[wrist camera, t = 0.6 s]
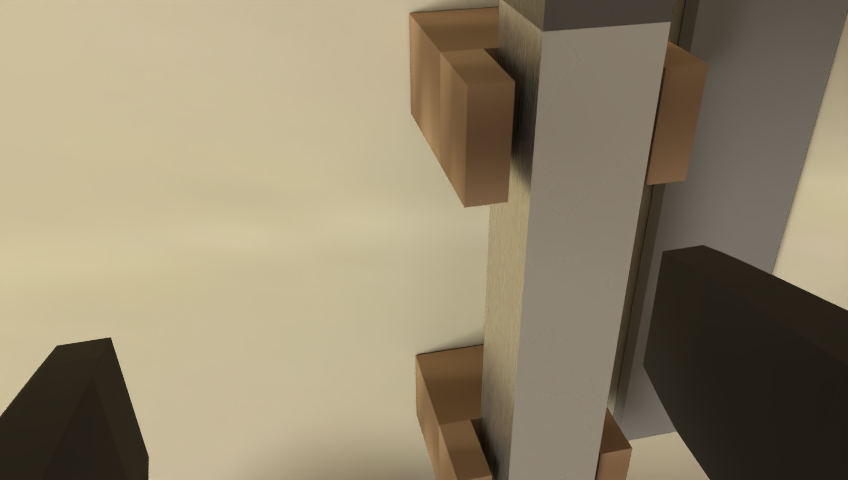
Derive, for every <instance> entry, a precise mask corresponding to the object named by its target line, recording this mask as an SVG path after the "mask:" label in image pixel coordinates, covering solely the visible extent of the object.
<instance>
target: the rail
mask: <svg viewBox="0 0 848 480" xmlns="http://www.w3.org/2000/svg"><path fill="white" fill-rule="evenodd" d="M673 6H674V0H499V19H498V41H497V63H498V64H499V65H500V67H501V68H502V69H503V70H504V71H505V72H506V73H507V74H508V75H509V76H510V77H511V78H512V79H513V80H514V81H515V94H514V110H513V127H512V144H511V161H510V178H509V195H508V202H505V203H497V204H490V220H489V243H488V265H487V288H486V310H485V332H484V355H483V377H482V399H481V422H480V446H481V448H482V451H483V454H484V456H485V459H486V461H487V464H488V466H489V469H490V472H491V474H492V480H595V474H596V468H597V462H598V456H599V450H600V444H601V438H602V432H603V426H604V420H605V414H606V408H607V402H608V396H609V390H610V384H611V378H612V372H613V366H614V360H615V354H616V348H617V342H618V336H619V330H620V324H621V318H622V312H623V306H624V300H625V294H626V288H627V282H628V276H629V270H630V264H631V258H632V252H633V246H634V240H635V234H636V228H637V222H638V216H639V210H640V204H641V198H642V192H643V186H644V180H645V174H646V168H647V162H648V156H649V150H650V144H651V138H652V132H653V126H654V120H655V114H656V108H657V102H658V96H659V90H660V84H661V78H662V72H663V66H664V60H665V54H666V48H667V42H668V36H669V30H670V24H671V18H672V12H673Z"/></svg>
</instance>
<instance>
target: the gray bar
mask: <svg viewBox="0 0 848 480" xmlns="http://www.w3.org/2000/svg"><path fill="white" fill-rule="evenodd" d="M847 12H848V0H686V4H685V10H684V15H683V21H682V27H681V32H680V38H679V44H678V46H679V47H680V48H682V49H684V50H685V51H687V52H689V53H691V54H692V55H694V56H696V57H697V58H699V59H701V60H703V61H704V62H706V63H708V64H709V66H708V71H707V76H706V81H705V86H704V91H703V96H702V101H701V106H700V111H699V116H698V121H697V126H696V131H695V136H694V141H693V146H692V151H691V156H690V161H689V166H688V171H687V176H686V180H685V181H677V182H669V183H661V184H654V187H653V192H652V198H651V204H650V210H649V215H648V221H647V227H646V232H645V238H644V244H643V250H642V255H641V261H640V267H639V272H638V278H637V284H636V290H635V295H634V301H633V307H632V312H631V318H630V324H629V330H628V335H627V341H626V347H625V352H624V358H623V364H622V370H621V375H620V381H619V387H618V392H617V398H616V404H615V410H614V415H613V418H614V419H615V421H616V423H617V424H618V426H619V428H620V429H621V431H622V432H623V434H624V436H625V437H626V439H627V441H628V440H634V439H639V438H644V437H649V436H655V435H660V434H665V433H670V432H676V431H677V430H676V429H675V427H674V426H673V424H672V422H671V420H670V418H669V416H668V414H667V413H666V411H665V409H664V407H663V405H662V403H661V401H660V399H659V397H658V395H657V393H656V391H655V389H654V387H653V385H652V383H651V381H650V379H649V377H648V375H647V373H646V371H645V369H644V367H643V362H644V356H645V350H646V344H647V339H648V333H649V327H650V321H651V316H652V310H653V304H654V298H655V292H656V287H657V281H658V275H659V269H660V263H661V258H662V252H663V251H668V250H674V249H680V248H687V247H693V246H700V245H705V246H707V247H710V248H713V249H715V250H718V251H720V252H723V253H725V254H727V255H730V256H732V257H734V258H737V259H739V260H741V261H743V262H746V263H748V264H750V265H752V266H754V267H756V268H759V269H761V270H763V271H765V272H767V273H769V274H772V271H773V267H774V264H775V260H776V257H777V253H778V250H779V247H780V243H781V240H782V236H783V233H784V229H785V226H786V222H787V219H788V216H789V212H790V209H791V205H792V202H793V198H794V195H795V191H796V188H797V184H798V181H799V178H800V174H801V171H802V167H803V164H804V160H805V157H806V153H807V150H808V147H809V143H810V140H811V136H812V133H813V129H814V126H815V122H816V119H817V116H818V112H819V109H820V105H821V102H822V98H823V95H824V91H825V88H826V85H827V81H828V78H829V74H830V71H831V67H832V64H833V60H834V57H835V53H836V50H837V47H838V43H839V40H840V36H841V33H842V29H843V26H844V22H845V19H846V16H847Z"/></svg>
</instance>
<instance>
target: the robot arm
mask: <svg viewBox="0 0 848 480" xmlns="http://www.w3.org/2000/svg"><path fill="white" fill-rule="evenodd" d="M643 367H644V369H645V371H646V373H647V375H648V377H649V379H650V381H651V383H652V385H653V387H654V389H655V391H656V393H657V395H658V397H659V399H660V401H661V403H662V405H663V407H664V409H665V411H666V413H667V414H668V416H669V418H670V420H671V422H672V424H673V426H674V427H675V429H676V430H677V432H678V433H679V435H680V436H681V438H682V439H683V441H684V442H685V444H686V445H687V447H688V448H689V450H690V451H691V453H692V454H693V456H694V457H695V459H696V460H697V461H698V463H699V464H700V466H701V467H702V469H703V470H704V472H705V473H706V475H707V476H708V477H709V479H710V480H848V311H847V310H845V309H843V308H841V307H839V306H837V305H835V304H832V303H830V302H828V301H826V300H824V299H822V298H820V297H818V296H816V295H813V294H811V293H809V292H807V291H805V290H803V289H801V288H799V287H797V286H795V285H792V284H790V283H788V282H786V281H784V280H782V279H780V278H778V277H776V276H774V275H771V274H769V273H767V272H765V271H763V270H761V269H759V268H756V267H754V266H752V265H750V264H748V263H746V262H743V261H741V260H739V259H737V258H734V257H732V256H730V255H727V254H725V253H723V252H720V251H718V250H715V249H713V248H710V247H707V246H705V245H700V246H693V247H687V248H680V249H674V250H668V251H663V252H662V258H661V263H660V269H659V275H658V281H657V287H656V292H655V298H654V304H653V310H652V316H651V321H650V327H649V333H648V339H647V344H646V350H645V356H644V362H643ZM148 466H149V457H148V453H147V450H146V447H145V444H144V441H143V438H142V435H141V431H140V428H139V425H138V422H137V419H136V416H135V412H134V409H133V406H132V403H131V400H130V397H129V394H128V390H127V387H126V384H125V381H124V378H123V375H122V371H121V368H120V365H119V362H118V359H117V356H116V353H115V349H114V346H113V343H112V340H111V337H110V338H104V339H97V340H91V341H84V342H78V343H72V344H65V345H59V346H56V347H55V349H54V350H53V351H52V352H51V354H50V355H49V356H48V357H47V358H46V360H45V361H44V362H43V363H42V364H41V366H40V367H39V368H38V369H37V371H36V372H35V373H34V374H33V376H32V377H31V378H30V379H29V381H28V382H27V383H26V384H25V386H24V387H23V388H22V389H21V391H20V392H19V393H18V395H17V396H16V397H15V398H14V400H13V401H12V402H11V403H10V405H9V406H8V407H7V409H6V410H5V411H4V412H3V414H2V415H1V416H0V480H148Z"/></svg>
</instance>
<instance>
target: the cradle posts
mask: <svg viewBox="0 0 848 480" xmlns="http://www.w3.org/2000/svg"><path fill="white" fill-rule="evenodd" d="M498 19H499V7H492V8H478V9H463V10H449V11H435V12H421V13H409V22H410V77H411V114H412V115H413V117H414V119H415V121H416V123H417V124H418V126H419V128H420V130H421V131H422V133H423V135H424V137H425V138H426V140H427V142H428V144H429V145H430V147H431V149H432V151H433V153H434V154H435V156H436V158H437V160H438V161H439V163H440V165H441V167H442V168H443V170H444V172H445V174H446V175H447V177H448V179H449V181H450V183H451V184H452V186H453V188H454V190H455V191H456V193H457V195H458V197H459V198H460V200H461V202H462V204H463V205H464V207H472V206H480V205H489V204H497V203H505V202H508V195H509V178H510V161H511V144H512V127H513V110H514V94H515V81H514V80H513V79H512V78H511V77H510V76H509V75H508V74H507V73H506V72H505V71H504V70H503V69H502V68H501V67H500V65H499V64H498V63H497V41H498ZM708 66H709V64H708V63H706V62H704V61H703V60H701V59H699V58H697V57H696V56H694V55H692V54H691V53H689V52H687V51H685V50H684V49H682V48H680V47H679V46H677V45H675V44H674V43H672V42H670V41H668V42H667V48H666V54H665V60H664V66H663V72H662V78H661V84H660V90H659V96H658V102H657V108H656V114H655V120H654V126H653V132H652V138H651V144H650V150H649V156H648V162H647V168H646V174H645V180H644V184H645V185H653V184H661V183H669V182H677V181H685V180H686V176H687V171H688V166H689V161H690V156H691V151H692V146H693V141H694V136H695V131H696V126H697V121H698V116H699V111H700V106H701V101H702V96H703V91H704V86H705V81H706V76H707V71H708ZM483 355H484V345H479V346H472V347H466V348H460V349H453V350H447V351H441V352H435V353H428V354H422V355H416V405H417V417H418V420H419V423H420V426H421V430H422V433H423V436H424V439H425V443H426V446H427V449H428V453H429V456H430V459H431V462H432V466H433V469H434V472H435V475H436V479H437V480H492V474H491V472H490V469H489V466H488V464H487V461H486V459H485V456H484V454H483V451H482V448H481V446H480V422H481V399H482V377H483ZM631 451H632V447H631V446H630V444H629V442H628V441H627V439H626V437H625V436H624V434H623V432H622V431H621V429H620V428H619V426H618V424H617V423H616V421H615V419H614V418H613V416H612V415H611V413H610V411H609V410H608V408H606V414H605V420H604V426H603V432H602V438H601V444H600V450H599V456H598V462H597V468H596V474H595V480H626V476H627V471H628V466H629V461H630V456H631Z"/></svg>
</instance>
